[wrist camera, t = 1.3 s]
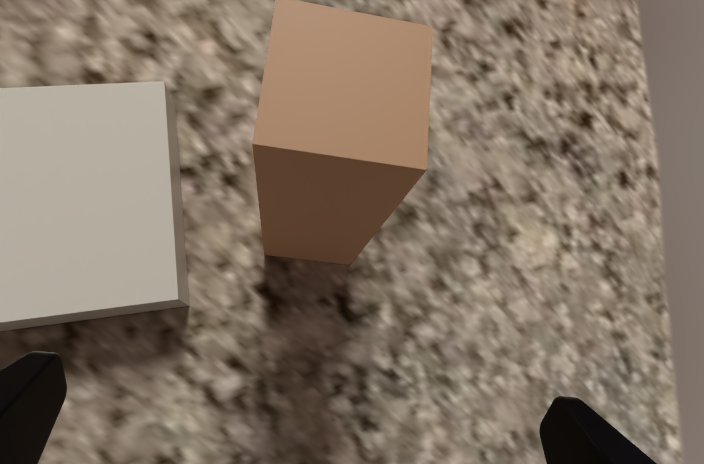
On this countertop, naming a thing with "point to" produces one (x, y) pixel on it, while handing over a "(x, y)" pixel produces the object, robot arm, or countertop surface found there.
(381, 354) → the countertop surface
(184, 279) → the plinth
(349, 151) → the block
